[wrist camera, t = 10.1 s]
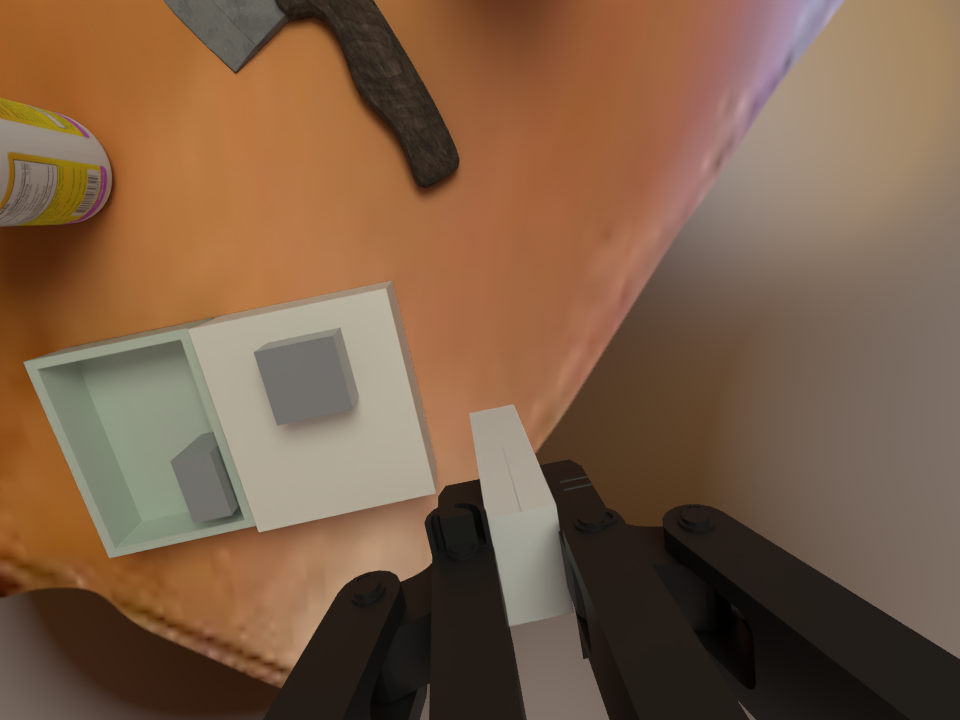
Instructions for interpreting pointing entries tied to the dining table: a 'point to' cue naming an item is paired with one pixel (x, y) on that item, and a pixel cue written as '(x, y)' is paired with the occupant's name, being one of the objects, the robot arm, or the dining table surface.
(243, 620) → the dining table surface
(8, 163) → the supplement bottle
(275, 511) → the plate
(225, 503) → the slate tile
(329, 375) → the slate tile
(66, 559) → the dining table surface
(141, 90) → the dining table surface
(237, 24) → the cleaver
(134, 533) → the box
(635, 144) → the dining table surface
